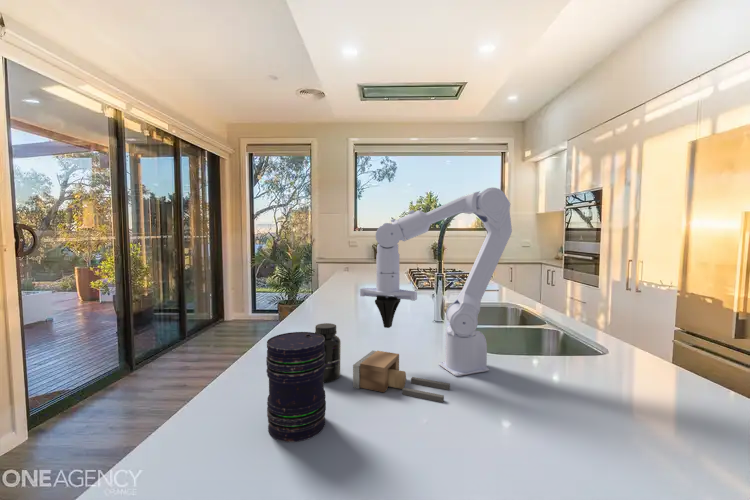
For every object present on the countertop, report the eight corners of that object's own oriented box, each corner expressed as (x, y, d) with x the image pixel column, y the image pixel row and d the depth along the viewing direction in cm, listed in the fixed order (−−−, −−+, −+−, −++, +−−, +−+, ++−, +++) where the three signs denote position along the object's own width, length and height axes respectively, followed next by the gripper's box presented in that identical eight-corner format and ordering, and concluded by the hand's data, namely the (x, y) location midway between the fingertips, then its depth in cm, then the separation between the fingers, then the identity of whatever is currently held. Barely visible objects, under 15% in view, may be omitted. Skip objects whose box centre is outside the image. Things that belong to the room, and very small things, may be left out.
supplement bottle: (335, 384, 75) (335, 330, 74) (306, 381, 76) (305, 328, 75) (344, 372, 81) (344, 322, 81) (317, 369, 83) (316, 321, 82)
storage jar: (297, 450, 52) (295, 353, 51) (254, 430, 57) (253, 342, 56) (337, 420, 60) (337, 336, 60) (297, 405, 65) (296, 328, 65)
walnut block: (399, 376, 79) (399, 353, 78) (384, 392, 70) (384, 367, 70) (377, 372, 81) (377, 350, 81) (360, 387, 73) (360, 363, 72)
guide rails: (449, 388, 73) (449, 383, 73) (442, 402, 66) (442, 397, 66) (412, 381, 76) (412, 376, 76) (402, 394, 70) (402, 389, 70)
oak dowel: (406, 382, 75) (405, 368, 74) (401, 392, 72) (400, 377, 71) (377, 377, 78) (375, 363, 77) (371, 386, 74) (369, 372, 74)
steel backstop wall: (378, 371, 81) (378, 351, 81) (359, 389, 72) (359, 366, 72) (372, 370, 82) (372, 350, 82) (353, 387, 73) (352, 365, 73)
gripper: (420, 272, 85) (420, 325, 85) (368, 269, 91) (368, 320, 91) (412, 275, 78) (411, 333, 79) (356, 272, 84) (356, 326, 85)
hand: (387, 326), depth 85 cm, fingers closed
